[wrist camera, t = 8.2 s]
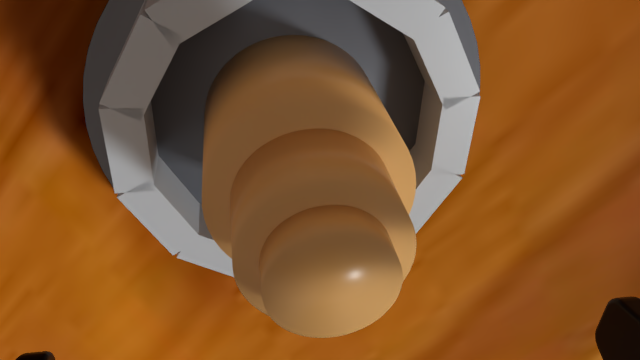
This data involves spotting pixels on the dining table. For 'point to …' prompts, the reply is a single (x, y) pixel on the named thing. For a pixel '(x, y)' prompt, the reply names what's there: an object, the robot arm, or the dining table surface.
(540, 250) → the dining table surface
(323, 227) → the beige tiered cylinder
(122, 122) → the grey shallow dish
